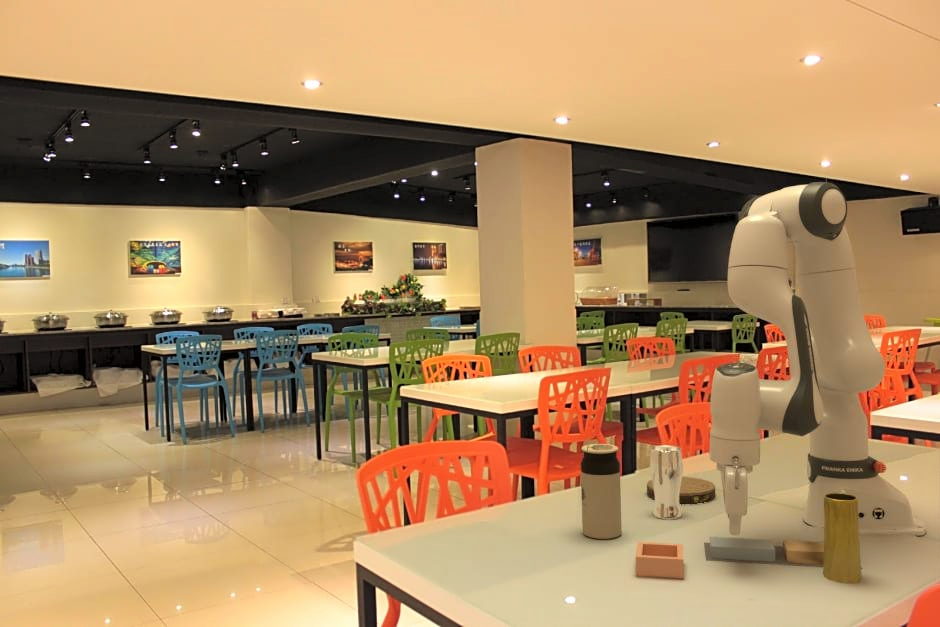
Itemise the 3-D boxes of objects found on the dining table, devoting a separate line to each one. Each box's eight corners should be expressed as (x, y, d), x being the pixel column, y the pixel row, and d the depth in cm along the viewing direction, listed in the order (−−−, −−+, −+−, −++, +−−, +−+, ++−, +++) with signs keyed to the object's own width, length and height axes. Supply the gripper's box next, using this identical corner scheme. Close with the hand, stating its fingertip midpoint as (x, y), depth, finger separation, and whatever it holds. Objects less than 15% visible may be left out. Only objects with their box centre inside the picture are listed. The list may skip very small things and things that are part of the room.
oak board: (847, 555, 139) (847, 543, 139) (854, 566, 134) (854, 553, 134) (783, 552, 142) (782, 540, 142) (787, 562, 137) (787, 550, 137)
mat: (849, 553, 142) (849, 549, 142) (862, 572, 133) (862, 569, 133) (703, 545, 149) (703, 542, 149) (706, 563, 139) (705, 560, 139)
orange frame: (683, 566, 138) (682, 544, 138) (684, 582, 131) (683, 559, 131) (638, 563, 140) (637, 541, 140) (636, 579, 133) (635, 556, 133)
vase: (815, 574, 133) (813, 492, 132) (849, 572, 133) (847, 490, 133) (835, 587, 126) (833, 502, 126) (870, 585, 127) (869, 500, 127)
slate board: (771, 551, 143) (771, 539, 143) (775, 561, 137) (775, 549, 137) (709, 548, 146) (709, 536, 145) (711, 558, 140) (711, 546, 140)
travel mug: (624, 529, 160) (621, 444, 160) (618, 541, 153) (616, 452, 152) (586, 526, 163) (584, 442, 162) (579, 538, 155) (576, 450, 155)
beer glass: (685, 520, 165) (683, 451, 165) (651, 519, 166) (650, 451, 166) (682, 511, 172) (681, 445, 171) (650, 510, 173) (649, 444, 173)
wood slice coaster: (714, 489, 190) (713, 477, 190) (716, 507, 175) (716, 494, 175) (648, 487, 195) (648, 475, 194) (645, 504, 179) (645, 491, 179)
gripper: (756, 465, 130) (755, 545, 131) (749, 442, 150) (748, 512, 150) (717, 462, 132) (716, 541, 132) (715, 440, 152) (714, 509, 152)
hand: (733, 526), depth 142 cm, fingers open, 8 cm apart
